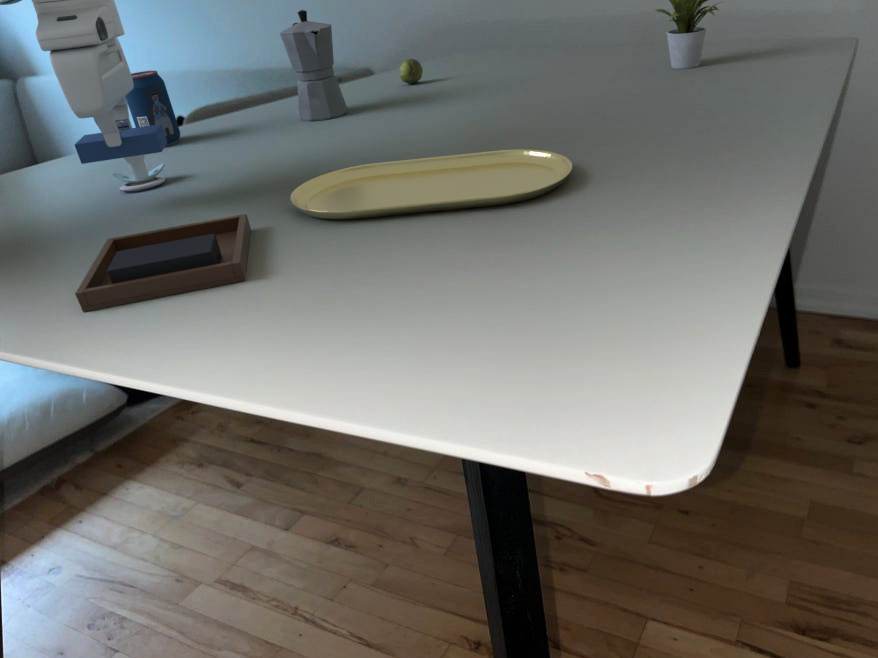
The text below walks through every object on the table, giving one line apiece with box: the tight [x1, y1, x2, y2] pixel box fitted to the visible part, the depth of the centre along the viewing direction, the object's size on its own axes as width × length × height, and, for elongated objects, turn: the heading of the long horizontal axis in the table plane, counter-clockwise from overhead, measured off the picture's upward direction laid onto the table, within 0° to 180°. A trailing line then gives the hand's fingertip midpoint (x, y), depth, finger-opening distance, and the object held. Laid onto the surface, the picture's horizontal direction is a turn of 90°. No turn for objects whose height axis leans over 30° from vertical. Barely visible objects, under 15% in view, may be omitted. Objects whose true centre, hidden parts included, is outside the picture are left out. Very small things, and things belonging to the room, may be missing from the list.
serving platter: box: [289, 148, 574, 220], centre depth 92 cm, size 19×35×2 cm, turn 88°
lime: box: [398, 58, 424, 85], centre depth 155 cm, size 4×5×5 cm
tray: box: [74, 213, 252, 313], centre depth 79 cm, size 16×16×2 cm
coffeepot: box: [279, 9, 348, 122], centre depth 135 cm, size 15×9×18 cm, turn 26°
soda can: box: [125, 70, 181, 148], centre depth 130 cm, size 7×7×12 cm
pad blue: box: [74, 124, 167, 165], centre depth 97 cm, size 10×6×2 cm, turn 103°
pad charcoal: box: [107, 234, 221, 284], centre depth 76 cm, size 10×6×2 cm, turn 103°
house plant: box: [652, 0, 724, 70], centre depth 135 cm, size 14×14×16 cm
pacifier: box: [112, 154, 166, 192], centre depth 108 cm, size 7×6×6 cm
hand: (121, 139), depth 97 cm, fingers closed on pad blue, 5 cm apart
